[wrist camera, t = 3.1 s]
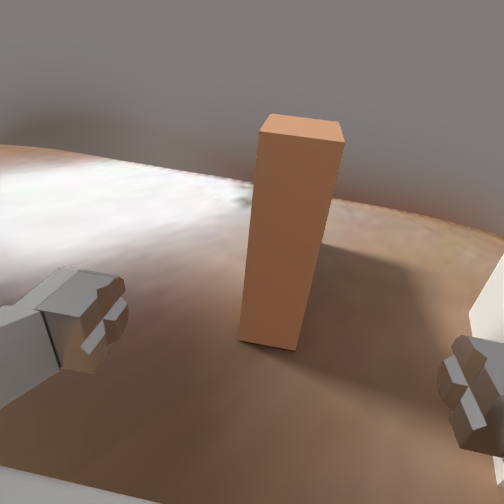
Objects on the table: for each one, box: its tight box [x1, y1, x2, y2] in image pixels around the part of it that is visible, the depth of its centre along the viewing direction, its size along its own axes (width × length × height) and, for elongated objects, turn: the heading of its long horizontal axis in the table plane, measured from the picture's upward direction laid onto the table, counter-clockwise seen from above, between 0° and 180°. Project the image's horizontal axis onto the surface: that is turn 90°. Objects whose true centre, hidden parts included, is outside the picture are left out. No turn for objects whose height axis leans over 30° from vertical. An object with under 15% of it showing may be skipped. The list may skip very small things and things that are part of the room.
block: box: [238, 114, 345, 351], centre depth 21 cm, size 5×4×14 cm
